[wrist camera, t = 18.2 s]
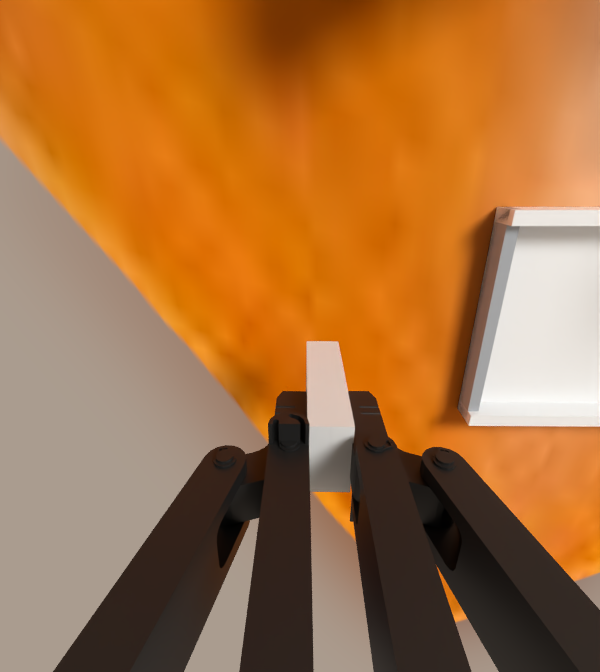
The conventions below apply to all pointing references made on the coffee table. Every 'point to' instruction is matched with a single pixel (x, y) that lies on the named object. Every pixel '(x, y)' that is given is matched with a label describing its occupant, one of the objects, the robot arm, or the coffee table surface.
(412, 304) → the coffee table surface
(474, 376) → the tray
